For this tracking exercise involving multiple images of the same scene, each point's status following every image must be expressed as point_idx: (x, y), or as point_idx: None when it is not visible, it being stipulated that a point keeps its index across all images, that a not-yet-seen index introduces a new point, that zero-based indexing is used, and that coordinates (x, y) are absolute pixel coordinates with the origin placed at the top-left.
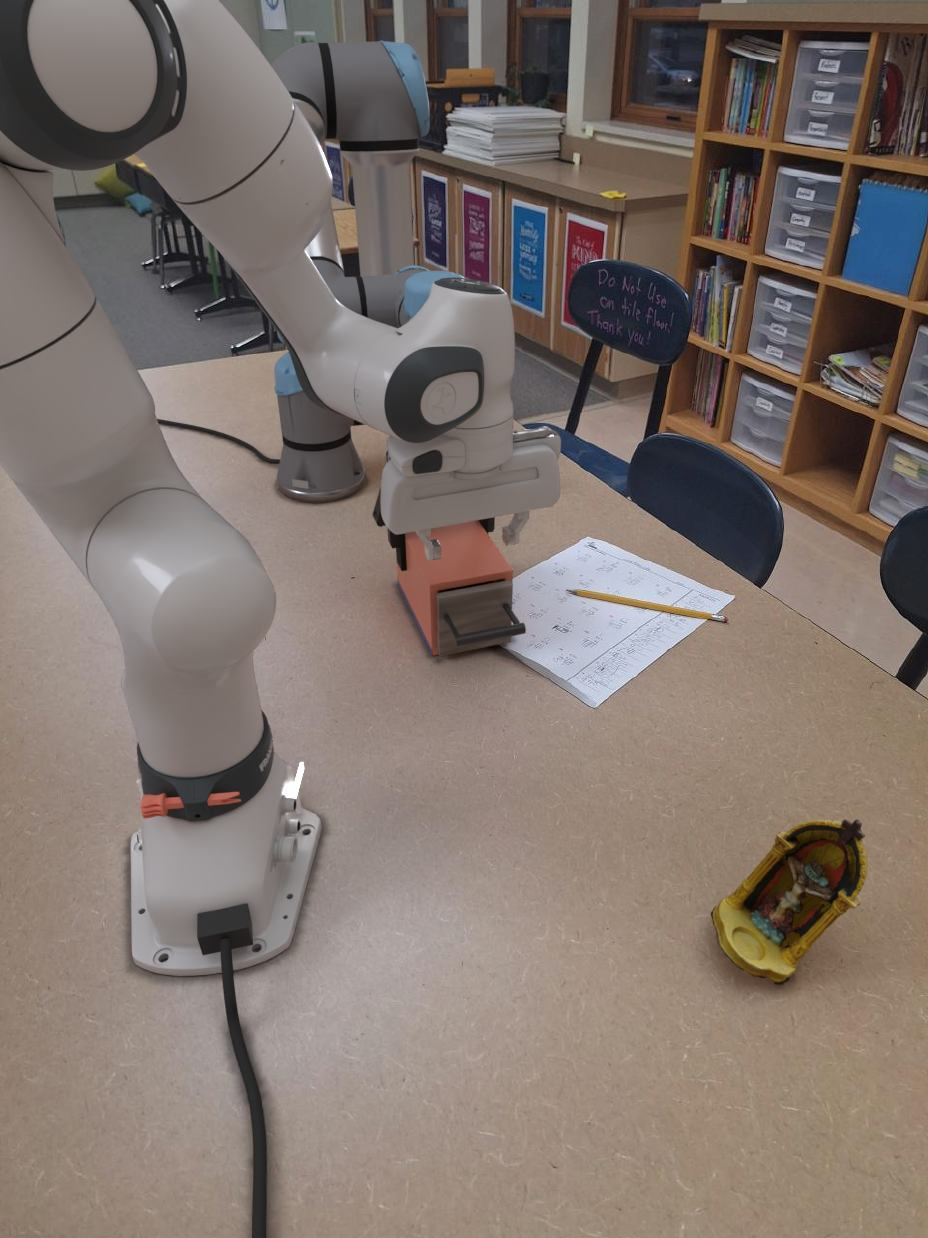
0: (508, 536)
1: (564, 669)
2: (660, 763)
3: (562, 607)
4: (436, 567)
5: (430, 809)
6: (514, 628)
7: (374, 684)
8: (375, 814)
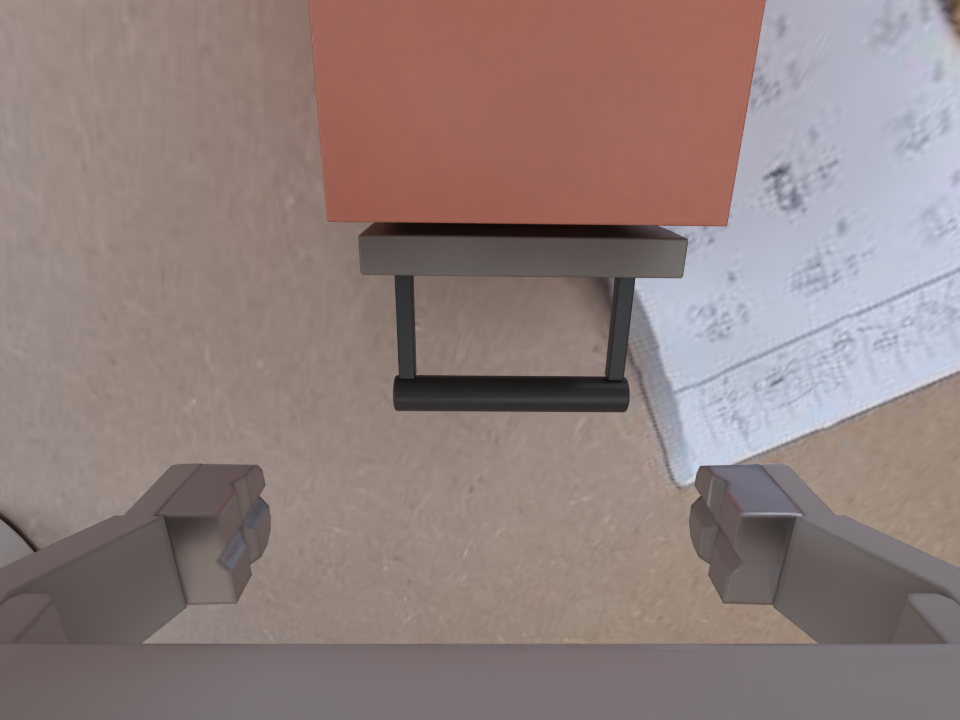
0: (720, 589)
1: (693, 354)
2: (703, 631)
3: (860, 76)
4: (393, 72)
5: (283, 612)
6: (589, 411)
7: (211, 258)
8: None
